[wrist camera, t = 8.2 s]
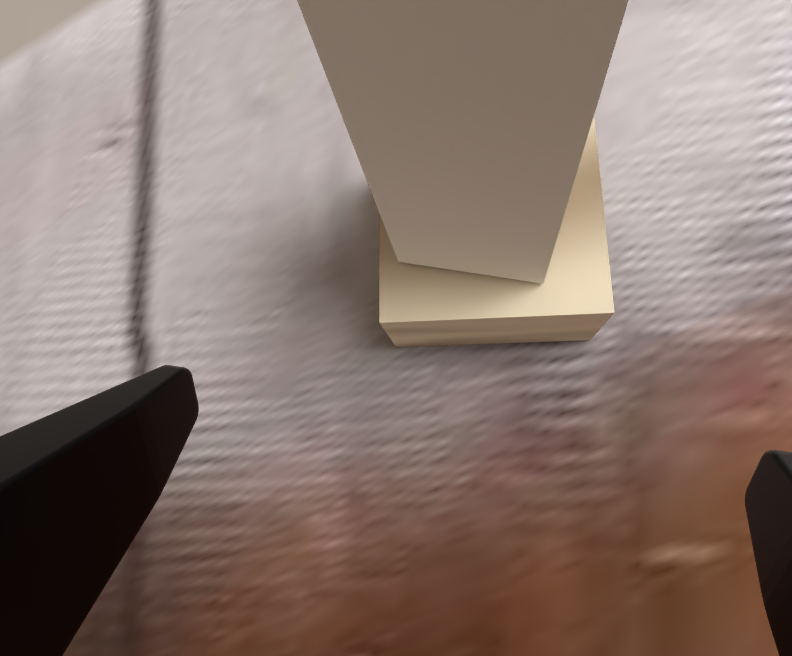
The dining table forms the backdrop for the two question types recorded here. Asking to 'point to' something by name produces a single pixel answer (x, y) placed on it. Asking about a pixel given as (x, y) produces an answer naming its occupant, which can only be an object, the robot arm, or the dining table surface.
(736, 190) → the dining table surface
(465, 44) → the pillar
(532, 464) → the dining table surface
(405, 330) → the tan glossy block
